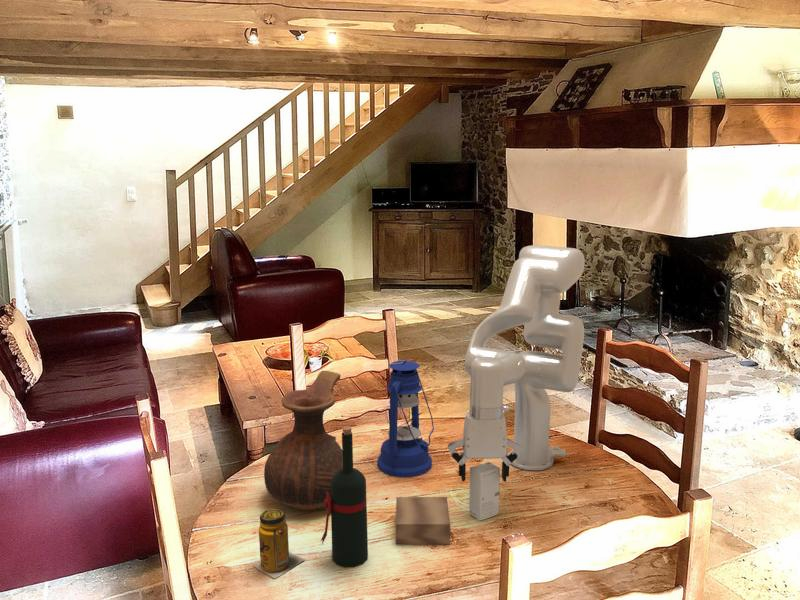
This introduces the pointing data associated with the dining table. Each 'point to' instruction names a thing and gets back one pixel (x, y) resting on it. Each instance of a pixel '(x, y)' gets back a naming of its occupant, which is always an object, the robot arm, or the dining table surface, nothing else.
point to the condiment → (275, 544)
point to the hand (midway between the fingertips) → (483, 478)
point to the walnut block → (422, 520)
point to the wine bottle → (347, 510)
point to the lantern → (403, 445)
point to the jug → (305, 449)
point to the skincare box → (484, 491)
